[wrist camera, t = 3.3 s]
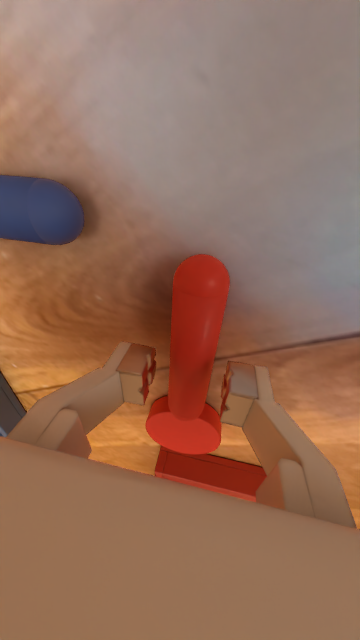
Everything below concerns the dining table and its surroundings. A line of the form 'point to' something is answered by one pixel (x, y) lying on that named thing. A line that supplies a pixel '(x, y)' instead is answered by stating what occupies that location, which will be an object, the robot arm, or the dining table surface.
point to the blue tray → (9, 409)
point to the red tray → (210, 473)
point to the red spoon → (192, 358)
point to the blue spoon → (38, 211)
